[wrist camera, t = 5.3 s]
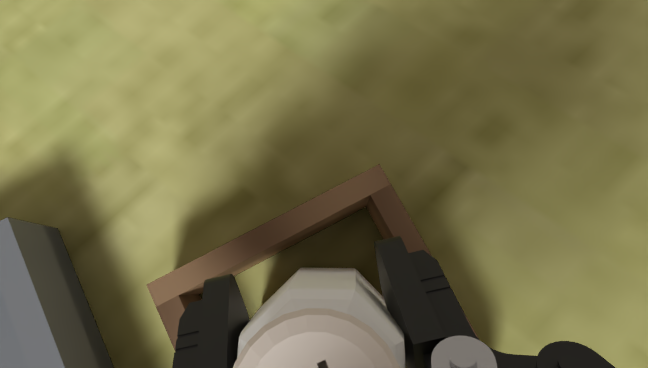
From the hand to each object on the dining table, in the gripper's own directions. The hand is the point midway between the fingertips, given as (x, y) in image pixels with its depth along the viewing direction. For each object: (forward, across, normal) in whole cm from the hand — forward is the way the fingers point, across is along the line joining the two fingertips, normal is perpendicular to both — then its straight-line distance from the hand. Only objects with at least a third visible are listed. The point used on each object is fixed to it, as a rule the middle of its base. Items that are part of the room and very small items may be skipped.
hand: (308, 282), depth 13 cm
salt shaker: (+2, 0, +5) cm, 6 cm away
